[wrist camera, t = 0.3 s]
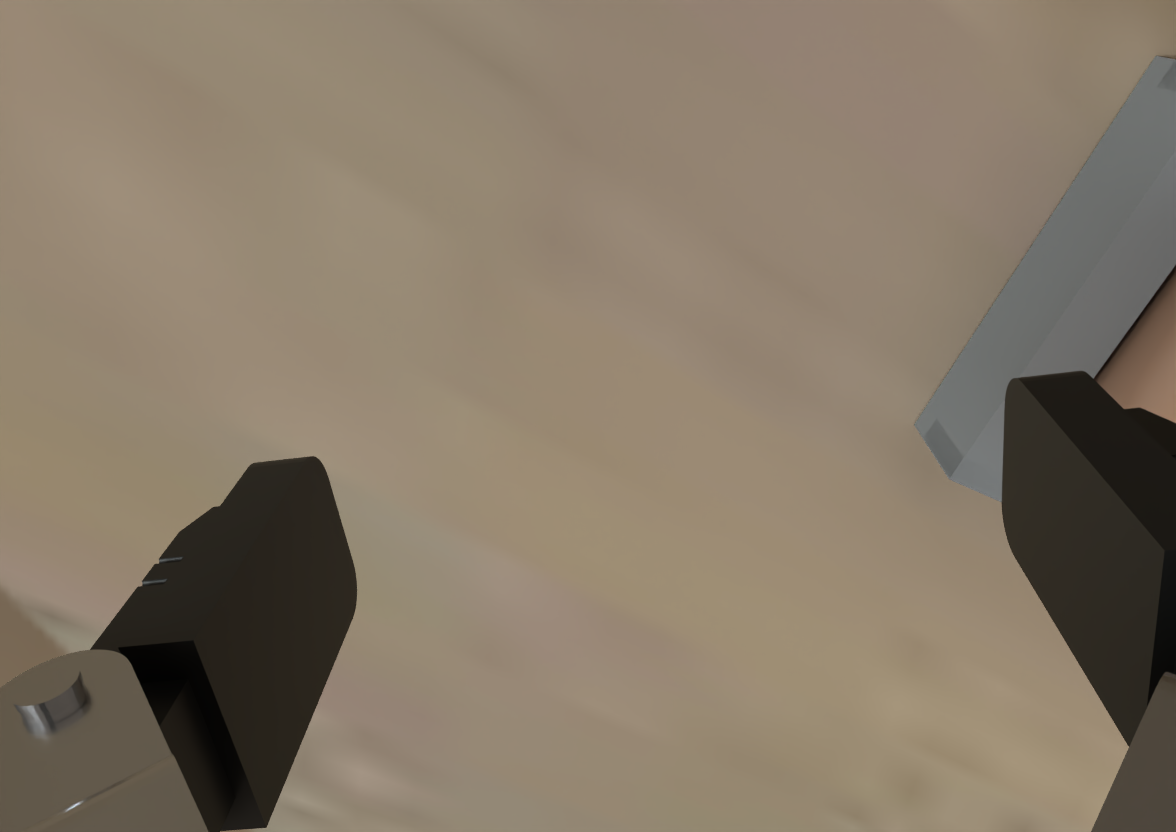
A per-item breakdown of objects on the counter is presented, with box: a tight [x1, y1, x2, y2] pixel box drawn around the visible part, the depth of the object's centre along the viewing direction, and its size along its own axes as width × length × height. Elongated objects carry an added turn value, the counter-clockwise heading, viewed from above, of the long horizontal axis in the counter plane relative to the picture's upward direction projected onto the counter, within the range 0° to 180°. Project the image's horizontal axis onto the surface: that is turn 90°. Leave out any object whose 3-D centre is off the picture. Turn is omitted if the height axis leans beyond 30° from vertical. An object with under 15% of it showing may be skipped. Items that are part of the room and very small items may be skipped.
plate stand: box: [914, 56, 1176, 502], centre depth 28 cm, size 12×6×4 cm, turn 156°
